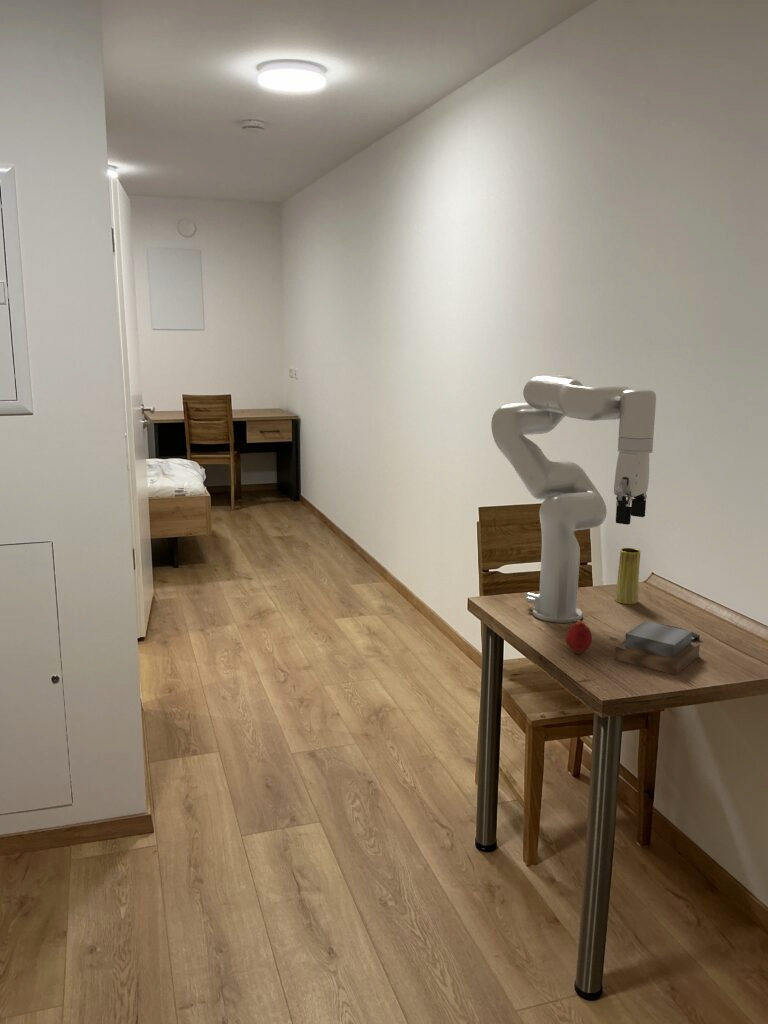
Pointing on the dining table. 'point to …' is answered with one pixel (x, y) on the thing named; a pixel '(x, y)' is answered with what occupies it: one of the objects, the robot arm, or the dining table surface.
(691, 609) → the dining table surface
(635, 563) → the vase
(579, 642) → the onion
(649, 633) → the wood and metal stack
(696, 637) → the curved wedge
